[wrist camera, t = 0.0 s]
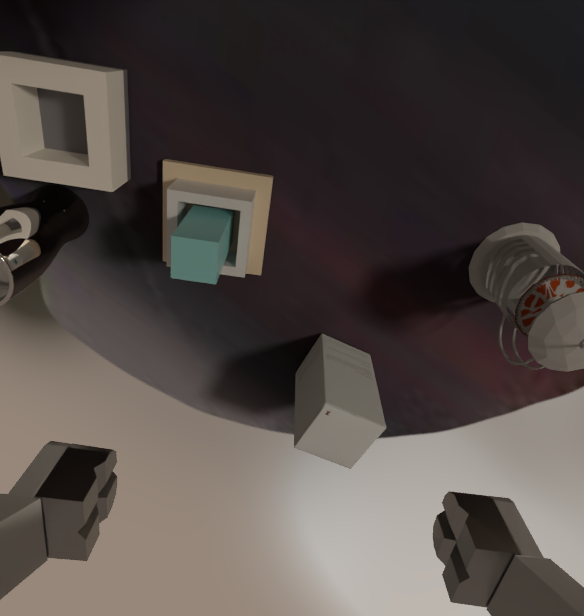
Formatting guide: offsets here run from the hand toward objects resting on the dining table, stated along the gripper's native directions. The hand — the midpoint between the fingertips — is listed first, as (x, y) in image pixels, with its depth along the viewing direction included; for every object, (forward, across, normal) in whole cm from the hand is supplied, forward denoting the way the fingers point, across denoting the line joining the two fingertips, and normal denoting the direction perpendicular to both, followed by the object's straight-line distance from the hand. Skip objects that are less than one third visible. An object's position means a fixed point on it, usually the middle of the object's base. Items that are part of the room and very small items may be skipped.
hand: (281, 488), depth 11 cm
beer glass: (+40, +25, +6) cm, 47 cm away
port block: (+39, +22, -4) cm, 45 cm away
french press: (+40, -25, +5) cm, 47 cm away
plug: (+39, +8, +4) cm, 40 cm away
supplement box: (+41, -8, +21) cm, 47 cm away
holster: (+39, +8, +4) cm, 40 cm away
